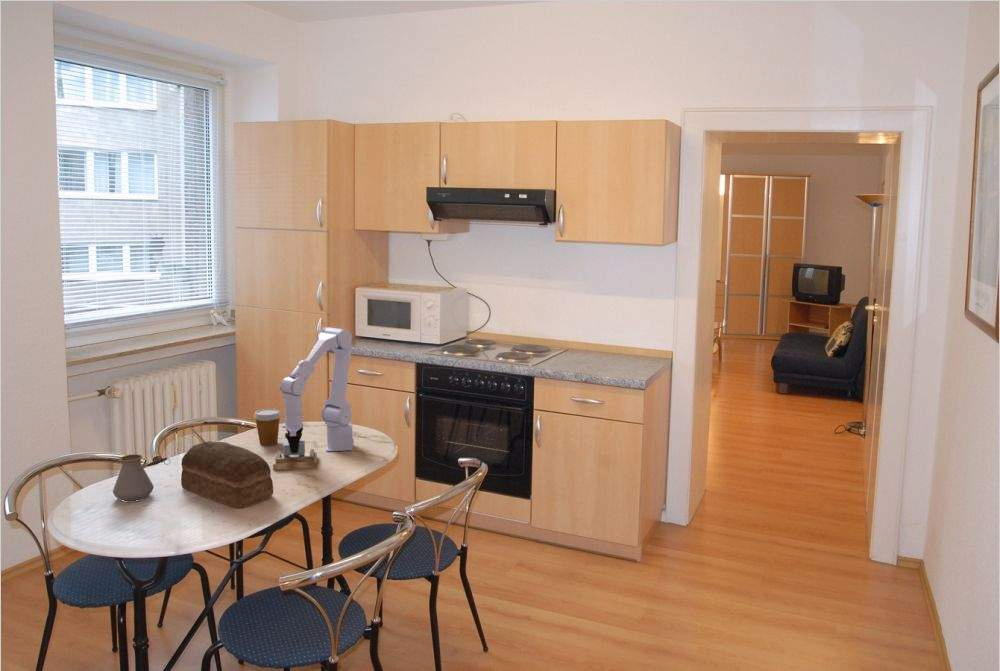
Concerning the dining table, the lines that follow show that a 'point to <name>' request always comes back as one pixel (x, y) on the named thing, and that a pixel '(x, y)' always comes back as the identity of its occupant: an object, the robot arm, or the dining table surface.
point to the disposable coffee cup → (267, 426)
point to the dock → (295, 461)
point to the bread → (226, 474)
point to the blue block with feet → (288, 452)
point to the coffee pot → (133, 479)
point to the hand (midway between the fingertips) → (295, 450)
